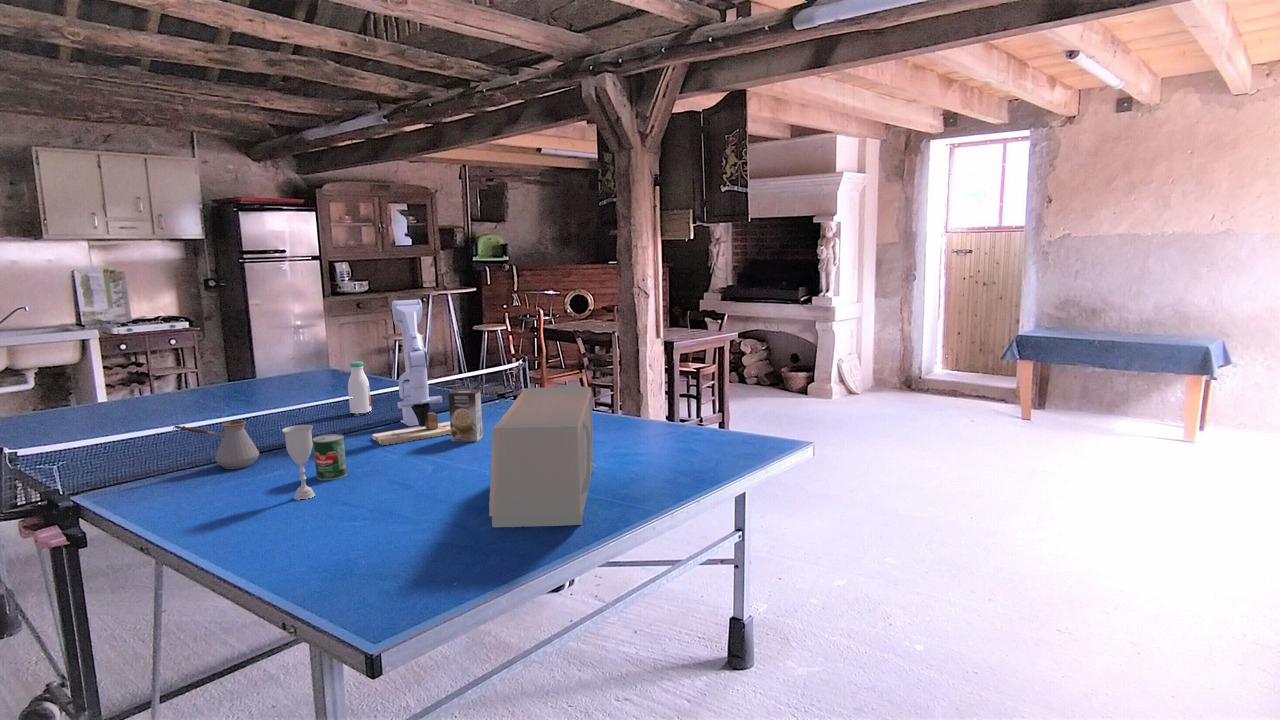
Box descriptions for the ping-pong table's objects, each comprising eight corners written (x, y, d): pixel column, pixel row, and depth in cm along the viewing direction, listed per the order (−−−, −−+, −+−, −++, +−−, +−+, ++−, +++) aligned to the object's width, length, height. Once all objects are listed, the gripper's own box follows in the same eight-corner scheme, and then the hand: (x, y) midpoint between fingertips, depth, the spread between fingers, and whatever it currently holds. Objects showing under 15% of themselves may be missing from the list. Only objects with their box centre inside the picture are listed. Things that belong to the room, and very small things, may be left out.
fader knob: (425, 427, 253) (424, 413, 252) (433, 425, 254) (432, 412, 254) (429, 429, 250) (428, 415, 249) (438, 428, 251) (437, 414, 250)
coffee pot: (252, 457, 228) (247, 409, 226) (266, 464, 220) (260, 415, 218) (173, 473, 213) (166, 423, 211) (184, 482, 205) (177, 429, 203)
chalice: (299, 503, 185) (292, 433, 183) (283, 498, 189) (276, 429, 186) (325, 494, 192) (319, 426, 189) (309, 490, 195) (302, 423, 192)
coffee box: (450, 441, 240) (446, 393, 238) (456, 436, 246) (453, 389, 244) (477, 441, 239) (474, 392, 237) (483, 436, 245) (480, 388, 243)
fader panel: (372, 438, 247) (372, 434, 246) (453, 424, 263) (452, 420, 263) (383, 446, 237) (383, 441, 237) (466, 431, 253) (466, 426, 253)
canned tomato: (347, 470, 212) (343, 432, 211) (347, 478, 205) (343, 439, 203) (317, 473, 210) (313, 436, 208) (315, 481, 202) (312, 442, 201)
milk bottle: (367, 415, 281) (362, 363, 278) (347, 416, 281) (342, 364, 278) (374, 411, 289) (370, 360, 286) (355, 411, 289) (350, 360, 286)
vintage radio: (521, 470, 208) (517, 387, 204) (601, 469, 207) (599, 386, 204) (483, 532, 164) (477, 427, 160) (585, 531, 163) (581, 426, 159)
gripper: (401, 391, 240) (404, 432, 243) (444, 385, 249) (447, 424, 251) (394, 388, 246) (397, 427, 248) (436, 382, 254) (439, 421, 257)
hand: (422, 426), depth 250 cm, fingers closed
